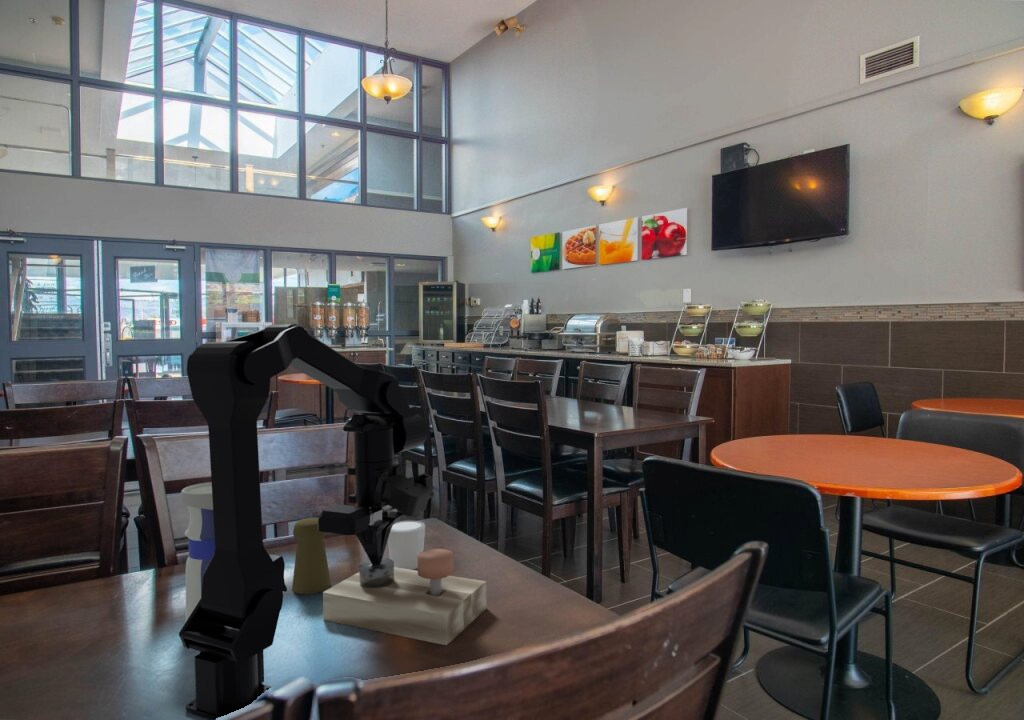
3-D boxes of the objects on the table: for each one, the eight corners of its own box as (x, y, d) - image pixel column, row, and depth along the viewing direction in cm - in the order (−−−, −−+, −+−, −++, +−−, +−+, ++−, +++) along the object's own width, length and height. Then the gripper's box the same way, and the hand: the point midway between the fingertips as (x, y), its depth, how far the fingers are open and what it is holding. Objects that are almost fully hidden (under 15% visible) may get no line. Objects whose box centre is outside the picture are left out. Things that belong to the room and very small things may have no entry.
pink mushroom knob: (442, 608, 85) (441, 563, 85) (411, 603, 87) (410, 558, 87) (459, 594, 89) (459, 551, 89) (429, 589, 91) (429, 547, 91)
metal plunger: (381, 615, 89) (380, 571, 89) (353, 609, 91) (352, 567, 91) (401, 601, 94) (400, 560, 93) (373, 596, 96) (372, 556, 95)
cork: (319, 595, 97) (317, 525, 97) (284, 592, 99) (282, 524, 98) (337, 580, 103) (336, 514, 103) (304, 578, 104) (302, 513, 104)
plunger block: (446, 645, 81) (445, 615, 81) (323, 619, 89) (322, 592, 89) (486, 608, 92) (486, 581, 92) (373, 588, 100) (373, 563, 100)
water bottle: (249, 604, 94) (244, 440, 93) (247, 629, 86) (241, 449, 85) (188, 614, 91) (182, 444, 90) (180, 640, 83) (173, 454, 82)
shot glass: (382, 561, 112) (381, 523, 112) (419, 555, 115) (418, 517, 115) (392, 574, 106) (391, 533, 105) (431, 567, 109) (430, 527, 108)
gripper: (382, 476, 80) (385, 596, 80) (453, 451, 97) (454, 550, 97) (313, 470, 84) (316, 584, 85) (392, 447, 101) (394, 542, 102)
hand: (376, 564), depth 92 cm, fingers closed, pressing on metal plunger
